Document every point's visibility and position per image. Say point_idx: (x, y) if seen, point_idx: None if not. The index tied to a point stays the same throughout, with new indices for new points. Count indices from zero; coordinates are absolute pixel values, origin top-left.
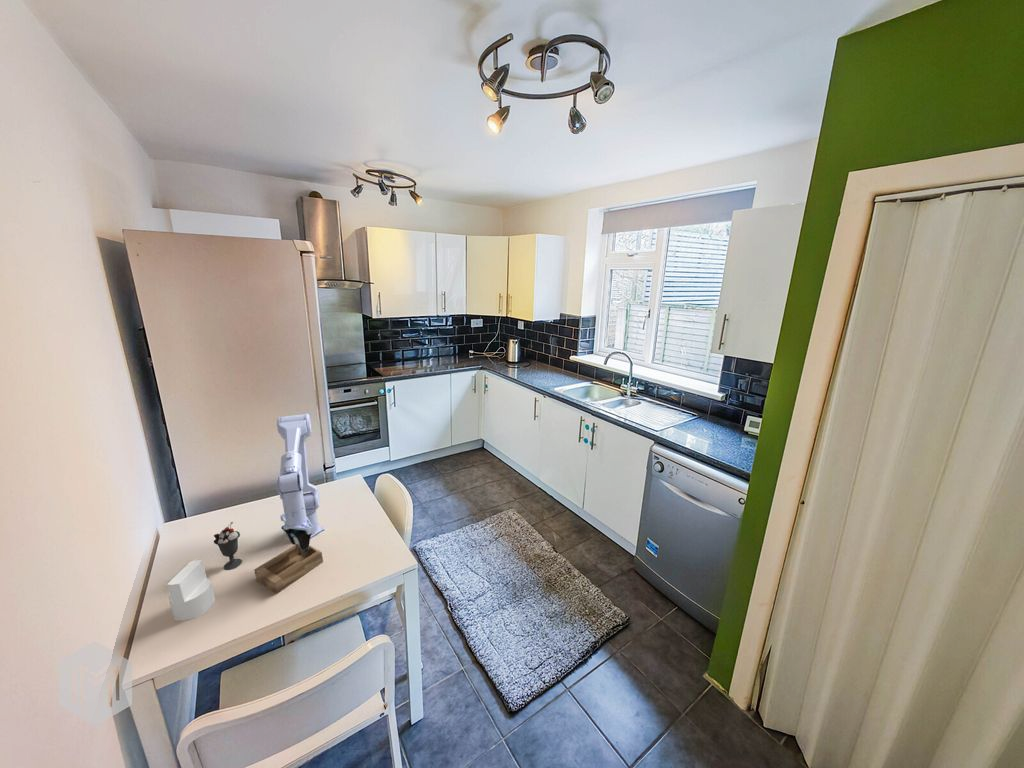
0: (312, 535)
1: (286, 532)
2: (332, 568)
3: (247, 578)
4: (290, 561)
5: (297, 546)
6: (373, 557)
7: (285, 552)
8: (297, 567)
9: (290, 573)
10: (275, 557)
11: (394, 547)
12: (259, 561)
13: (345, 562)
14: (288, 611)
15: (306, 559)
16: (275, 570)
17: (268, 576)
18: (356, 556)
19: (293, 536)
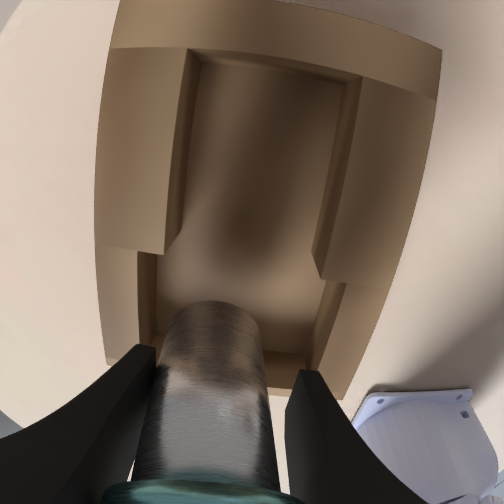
0: (354, 425)
1: (379, 500)
2: (55, 296)
3: (455, 68)
4: (305, 253)
5: (190, 363)
6: (11, 376)
7: (368, 289)
8: (101, 191)
9: (101, 121)
10: (402, 215)
11: (15, 415)
12: (497, 201)
13: (49, 340)
14: (20, 14)
15: (124, 285)
16: (332, 143)
17: (246, 13)
18: (51, 374)
19: (161, 490)
